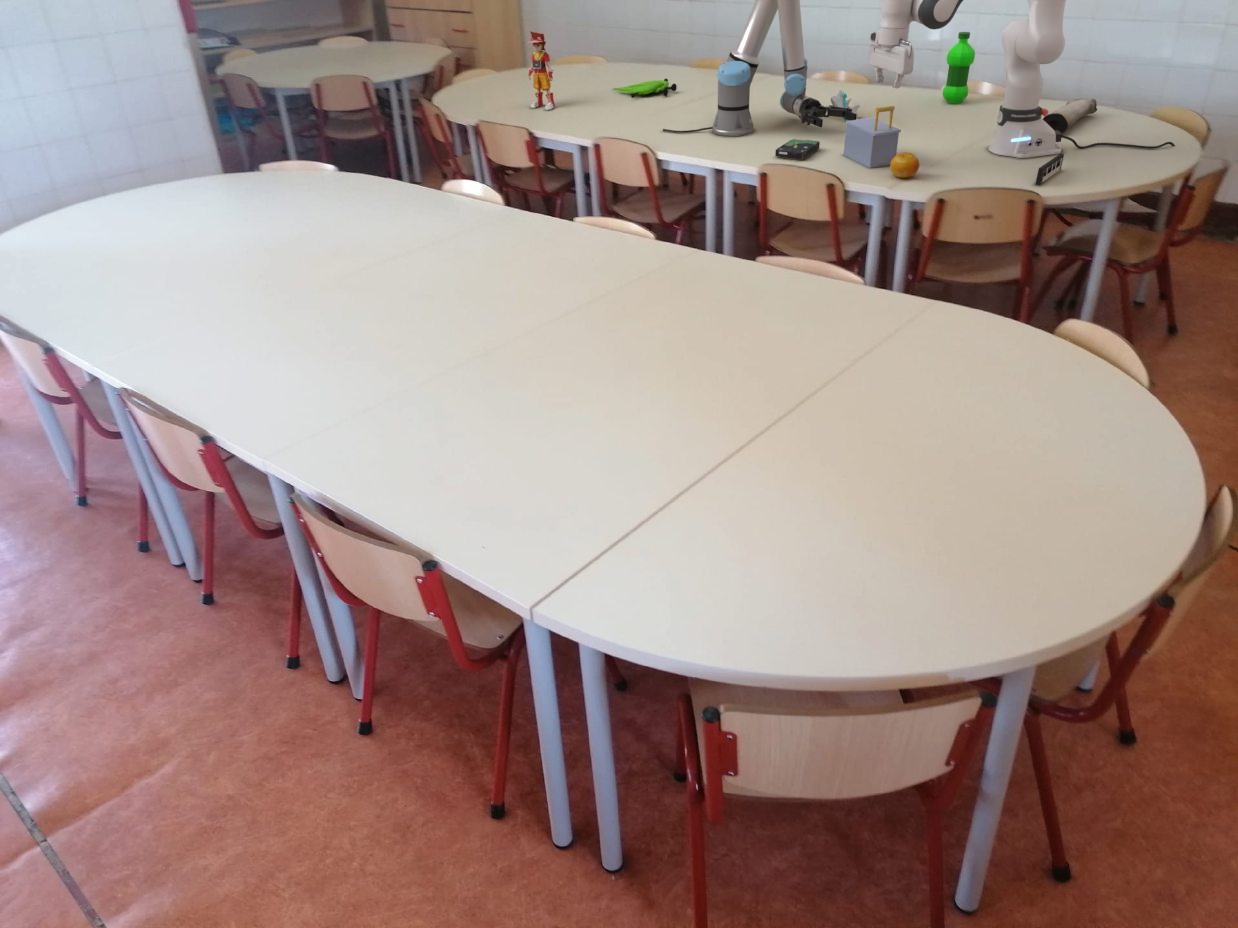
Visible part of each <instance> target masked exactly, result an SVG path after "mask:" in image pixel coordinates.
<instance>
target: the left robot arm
mask: <svg viewBox="0 0 1238 928" xmlns="http://www.w3.org/2000/svg"><path fill="white" fill-rule="evenodd" d="M777 12H778V22H779V23H778V25H779V33H780V44H781V54H782V65H783V66H782V67H783V76H784V77H783V78H784V84H783V85H784V89H785V91H784V92H782V93H781V97H780V99H779V105H780V107H781V108H782V109H783V110H784V111H786V112H788V113H789V114H792V115H795V116H797V117H798V118H799V119H800V123H801V124H802V125H805V124H806V126H811V125H813V126H815V127H818V128H820V129H821V128H823V125H824V124H823V123H824V119H823V118H830V117H835V118H843V117H844V119H847V120H848V121H851V120H857V119H856V116H857V114H858V113H857V114H855V113H852V109H849V108H842V107H836V106H832V105H833V104H830V105H828V106H824V105H822V104H821V102H820V100H818V99H816V98H813V97H811V96H809V95H806V92H807V76H808V59H807V58H805V50H804V38H803V37H804V36H803V25H802V11H801V0H755V1H754V4H753V6H752V8H751V11H750V14H749V15H748V18H747V20H746V23H745V26H744V28H743V31H742V33H741V36H740V38H739V41H738V42H737V45H736V47H735V48H733V49H730V52H729V54H728V57H727V59H726V62H724V63H722V64H721V65H719V66H718V70H717V111H716V114H715V118H714V120H713V124H712V126H708V127H703V128H698V129H697V128H696V129H689V130H676V129H675V130H674V129H667V128H662V131H663V132H668V133H674V134H675V133H677V134H685V133H686V134H687V133H696V132H701V131H707V130H712V133H713V134H715V135H717V136H721V137H741V136H746V135H750V134H752V133H754V127H755V126H754V122H753V118H752V115H751V111H750V94H751V93H750V90H751V84H752V83H753V80H754V77H755V75H756V72H757V70H758V67H759V65H760V60H759V54H760V52H761V50H762V48H763V45H764V43H765V40H766V38H767V35H768V33H769V31H770V29H771V26H772V23H773V22H774V19H775V17H776V15H777ZM844 119H843V120H844Z"/></svg>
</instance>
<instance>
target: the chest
mask: <svg viewBox="0 0 1238 928" xmlns="http://www.w3.org/2000/svg"><path fill="white" fill-rule="evenodd" d="M845 126H846V127H845V135H844V147H843V156H845V157H847V158H849V159H851V160H853V161H855V162H857V163H859V164H861V165H862V166H865V167H867V168H869V169H873V168H878V167H885V166H890V165H891V161H892V159H893V158H894V157H895V156H896V155H897V154H898V153H897V152H898V145H899V144H898V143H899V136H900V132H899V133H893V134H886V135H880V136H873V135H871V134H869V133H867V132H864V131H862V130H860V129H858V128H855V127H853V126H851V125H849V124H847V123H846V124H845Z"/></svg>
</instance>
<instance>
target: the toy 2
mask: <svg viewBox="0 0 1238 928" xmlns="http://www.w3.org/2000/svg"><path fill="white" fill-rule="evenodd" d="M669 85H670V83H669V79H668V78H664V79H663V80H649V81H644V82H640V83H634V84H629V85H627V86H621V87H613V88H612V89H613V90H616V91H619V92H623V93H627V94H628V93H629V94H631V95H630V96H631V98H632V99H634V98H636V96H637V95H650V94H652V93H654V94H658V93H662V95H663V96H665V97H667V96H668V95H669V90H671V91H672V92H676V91H677V84H676V83H672V84H671V86H669Z"/></svg>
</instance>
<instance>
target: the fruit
mask: <svg viewBox="0 0 1238 928" xmlns="http://www.w3.org/2000/svg"><path fill="white" fill-rule="evenodd" d="M889 167H890V172H891V173H892V175H894V176H895V177H897V178H903V179H907V178H911V177H913V176H915V174H916V173H917V172H918V170H919V169H920V161H919V159H918V157H917V156H916V155H915V154H914V153H911V152H901V153H897V154H896V156H895V157H894V158H893V159H892V161H891V165H889Z"/></svg>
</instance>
